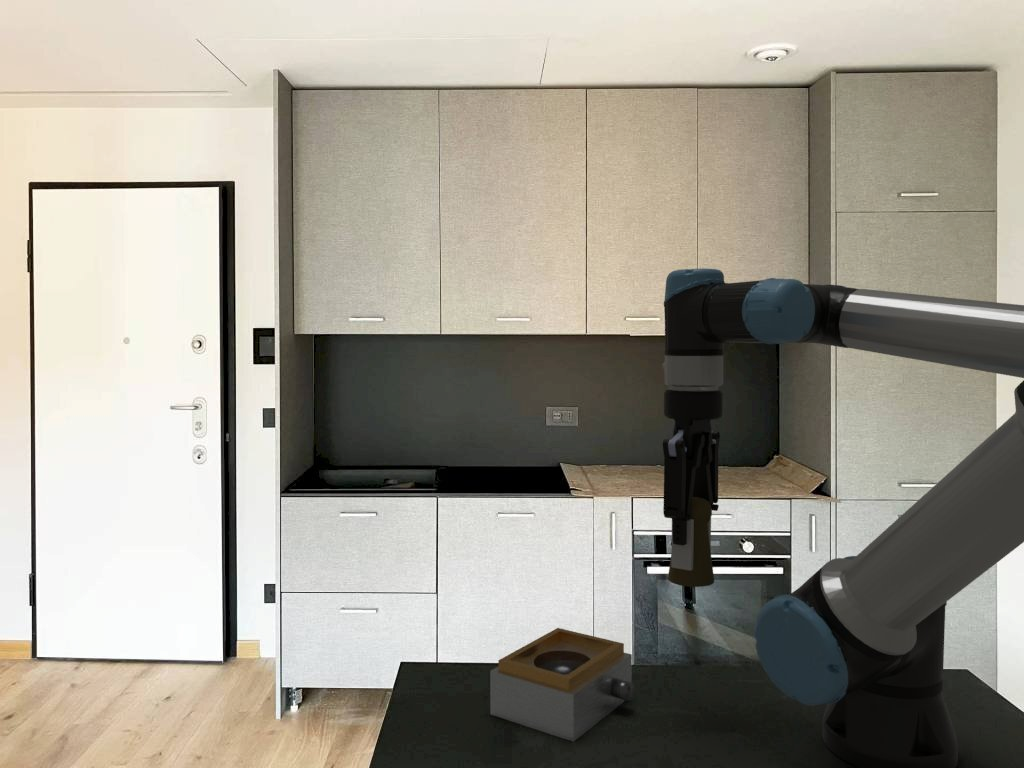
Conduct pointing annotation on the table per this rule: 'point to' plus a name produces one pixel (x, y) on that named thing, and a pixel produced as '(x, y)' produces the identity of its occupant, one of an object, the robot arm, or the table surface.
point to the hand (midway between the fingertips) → (691, 562)
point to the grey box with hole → (562, 683)
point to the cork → (697, 550)
